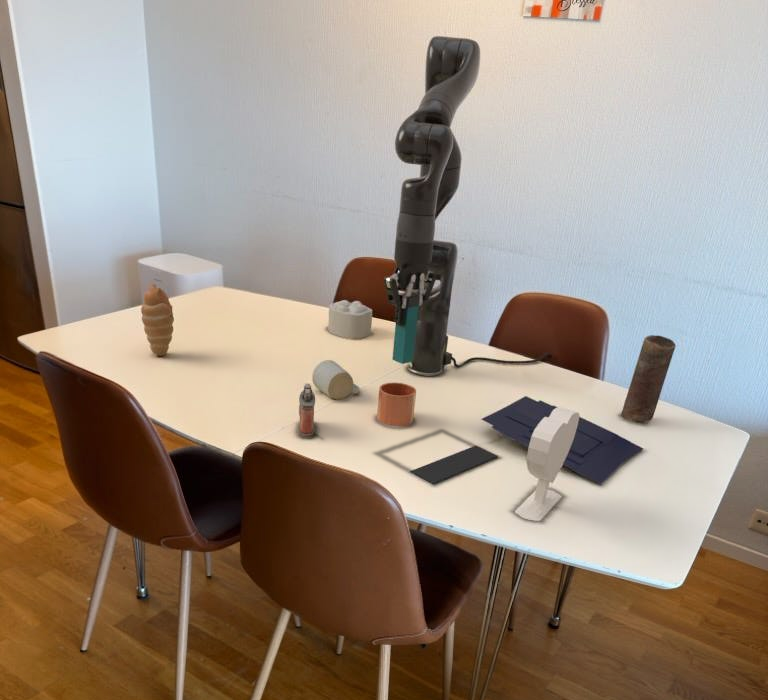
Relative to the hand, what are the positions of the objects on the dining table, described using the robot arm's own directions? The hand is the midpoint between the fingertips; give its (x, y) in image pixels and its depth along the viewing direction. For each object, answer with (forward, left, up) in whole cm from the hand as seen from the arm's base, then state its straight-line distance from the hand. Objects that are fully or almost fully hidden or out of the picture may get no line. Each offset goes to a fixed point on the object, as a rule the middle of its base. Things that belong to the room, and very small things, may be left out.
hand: (406, 323), depth 150 cm
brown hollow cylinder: (-52, +32, -23) cm, 65 cm away
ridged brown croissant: (+22, -65, -23) cm, 73 cm away
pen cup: (-1, -1, -23) cm, 23 cm away
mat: (+4, +17, -23) cm, 29 cm away
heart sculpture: (+3, +42, -23) cm, 48 cm away
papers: (-23, +29, -23) cm, 43 cm away
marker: (0, 0, -8) cm, 8 cm away
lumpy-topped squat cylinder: (-35, -56, -23) cm, 70 cm away
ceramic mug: (0, -20, -23) cm, 31 cm away
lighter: (+19, -8, -23) cm, 31 cm away
